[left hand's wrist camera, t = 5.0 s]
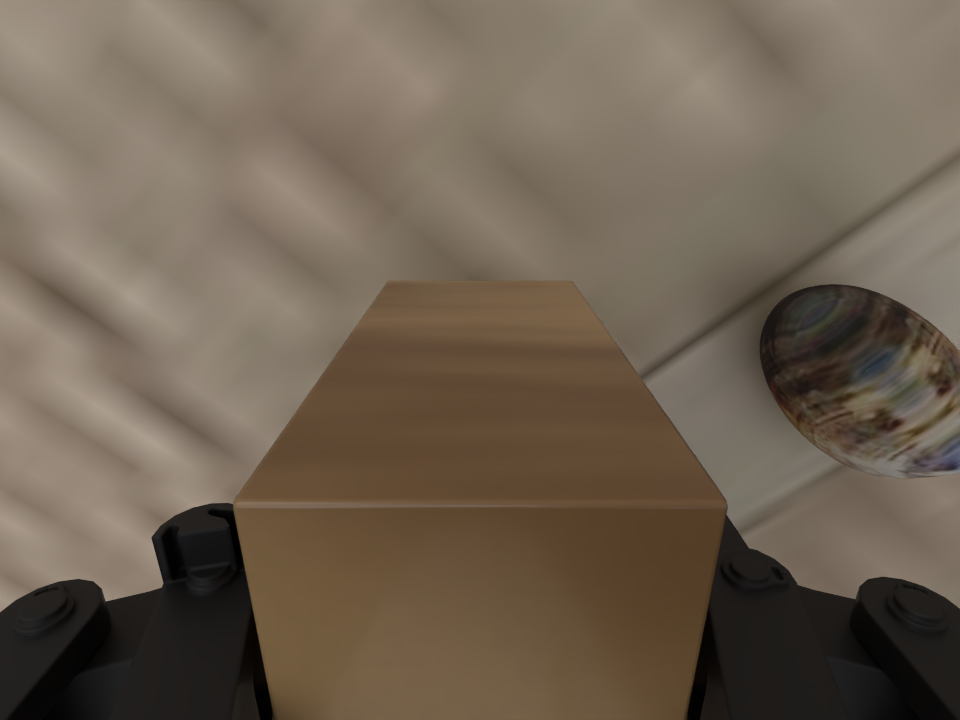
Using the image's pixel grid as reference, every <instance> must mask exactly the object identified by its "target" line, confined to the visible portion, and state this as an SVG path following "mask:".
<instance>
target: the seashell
mask: <svg viewBox="0 0 960 720" xmlns="http://www.w3.org/2000/svg"><path fill="white" fill-rule="evenodd" d="M760 357H761V364H762V369H763V372H764V375H765V379H766V381H767V384H768V386H769V389H770V391H771V393H772V395H773V397H774V399H775V400H776V402H777V403H778V405H779V407H780V408H781V410H782V411H783V413H784V414H785V415H786V417H787V418H788V419H789V420H790V422H791V423H792V424H793V425H794V426H795V427H796V428H797V429H798V431H799V432H800V433H801V434H802V435H803V436H805V437H806V438H807V439H808V440H809V441H810V442H811V443H812V444H814V445H815V446H816V447H817V448H819V449H820V450H821V451H823V452H824V453H826V454H827V455H829V456H830V457H832V458H833V459H835V460H837V461H839V462H840V463H842V464H844V465H846V466H849V467H851V468H853V469H855V470H858V471H861V472H864V473H867V474H870V475H875V476H879V477H885V478H894V479H913V478H922V477H936V476H942V475H947V474H955V473H960V351H959V350H958V349H957V348H956V347H955V346H954V344H953V343H952V342H951V341H950V340H949V339H948V338H947V337H946V336H945V335H944V334H943V333H942V332H940V331H939V330H938V329H937V328H936V327H935V326H934V325H932V324H931V323H930V322H929V321H927V320H926V319H924V318H923V317H922V316H920V315H919V314H918V313H916V312H914V311H913V310H911V309H910V308H908V307H906V306H904V305H903V304H901V303H899V302H897V301H895V300H893V299H891V298H889V297H886V296H884V295H882V294H879V293H877V292H874V291H871V290H868V289H864V288H860V287H855V286H849V285H835V284H830V285H819V286H814V287H808V288H805V289H802V290H799V291H796V292H794V293H792V294H790V295H788V296H787V297H785V298H784V299H782V300H781V301H780V302H779V303H778V304H777V305H776V306H775V307H774V309H773V310H772V312H771V313H770V315H769V316H768V318H767V320H766V322H765V325H764V327H763V330H762V334H761V340H760Z"/></svg>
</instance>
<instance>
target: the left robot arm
mask: <svg viewBox="0 0 960 720" xmlns="http://www.w3.org/2000/svg"><path fill="white" fill-rule="evenodd" d="M152 541H153V545H154V549H155V552H156V556H157V560H158V564H159V568H160V571H161V575H162V579H163V583H164V584H163V586H162V588H160V589H156V590H153V591H150V592H146V593H141V594H137V595H133V596H128V597H124V598H120V599H115V600H111V601H105V598H104V595H103V592H102V589H101V588H100V587H99V586H98V585H97V584H95V583H94V582H93V581H87V580H81V579H75V580H68V581H60V582H56V583H53V584H50V585H47V586H44V587H42V588H39V589H36V590H34V591H32V592H31V593H29V594H27V595H25V596H23V597H21V598H19V599H17V600H16V601H14V602H13V603H12V604H10V605H9V606H8V607H7V608H5V609H4V610H3V611H1V612H0V720H274V715H273V710H272V705H271V699H270V694H269V689H268V684H267V679H266V674H265V669H264V664H263V659H262V653H261V648H260V643H259V638H258V633H257V628H256V623H255V618H254V612H253V607H252V602H251V597H250V592H249V587H248V582H247V577H246V571H245V566H244V561H243V556H242V551H241V546H240V541H239V536H238V530H237V525H236V520H235V515H234V510H233V504H230V503H213V504H207V505H203V506H199V507H194V508H191V509H189V510H187V511H185V512H182V513H180V514H178V515H175V516H174V517H173V518H171V519H170V520H168V521H167V522H165V523H164V524H163V525H161V526H160V527H159V529H158V530H157V531H156V533H155V534H154V535H153V536H152ZM686 720H960V609H959V608H958V607H957V606H955V605H954V604H953V603H951V602H950V601H949V600H948V599H946V598H945V597H943V596H941V595H939V594H937V593H935V592H933V591H931V590H929V589H928V588H926V587H924V586H921V585H918V584H915V583H912V582H909V581H906V580H903V579H896V578H888V577H879V578H873V579H868V580H867V581H865V582H864V583H863V584H862V585H861V586H860V587H859V590H858V594H857V597H856V600H855V599H851V598H847V597H842V596H838V595H833V594H829V593H825V592H820V591H816V590H812V589H809V588H805V587H802V586H799V585H797V583H796V581H795V580H794V578H793V577H792V575H791V574H790V572H789V571H788V570H787V569H786V568H785V567H784V566H782V565H781V564H780V563H779V562H777V561H776V560H775V559H773V558H771V557H769V556H767V555H765V554H763V553H761V552H759V551H757V550H753V549H750V548H748V546H747V545H746V543H745V542H744V540H743V539H742V537H741V536H740V534H739V533H738V531H737V530H736V528H735V527H734V525H733V524H732V522H731V521H730V519H729V518H728V516H727V515H726V518H725V523H724V528H723V533H722V539H721V544H720V549H719V554H718V559H717V564H716V569H715V574H714V579H713V584H712V590H711V595H710V600H709V605H708V610H707V615H706V620H705V625H704V630H703V635H702V641H701V646H700V651H699V656H698V661H697V666H696V671H695V676H694V681H693V687H692V692H691V697H690V702H689V707H688V712H687V717H686Z"/></svg>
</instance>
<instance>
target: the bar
mask: <svg viewBox="0 0 960 720" xmlns="http://www.w3.org/2000/svg"><path fill="white" fill-rule="evenodd" d="M233 510H234V515H235V520H236V525H237V530H238V536H239V541H240V546H241V551H242V556H243V561H244V566H245V571H246V577H247V582H248V587H249V592H250V597H251V602H252V607H253V612H254V618H255V623H256V628H257V633H258V638H259V643H260V648H261V653H262V659H263V664H264V669H265V674H266V679H267V684H268V689H269V694H270V699H271V705H272V710H273V715H274V720H686V717H687V712H688V707H689V702H690V697H691V692H692V687H693V681H694V676H695V671H696V666H697V661H698V656H699V651H700V646H701V641H702V635H703V630H704V625H705V620H706V615H707V610H708V605H709V600H710V595H711V590H712V584H713V579H714V574H715V569H716V564H717V559H718V554H719V549H720V544H721V539H722V533H723V528H724V523H725V518H726V513H727V501H726V499H725V497H724V496H723V495H722V493H721V492H720V490H719V489H718V488H717V486H716V485H715V483H714V482H713V480H712V479H711V478H710V476H709V475H708V473H707V472H706V470H705V469H704V468H703V466H702V465H701V463H700V462H699V460H698V459H697V458H696V456H695V455H694V453H693V452H692V450H691V449H690V448H689V446H688V445H687V443H686V442H685V440H684V439H683V438H682V436H681V435H680V433H679V432H678V430H677V429H676V428H675V426H674V425H673V423H672V422H671V421H670V419H669V418H668V416H667V415H666V413H665V412H664V411H663V409H662V408H661V406H660V405H659V403H658V402H657V401H656V399H655V398H654V396H653V395H652V393H651V392H650V391H649V389H648V388H647V386H646V385H645V383H644V382H643V381H642V379H641V378H640V376H639V375H638V373H637V372H636V371H635V369H634V368H633V366H632V365H631V364H630V362H629V361H628V359H627V358H626V356H625V355H624V354H623V352H622V351H621V349H620V348H619V346H618V345H617V344H616V342H615V341H614V339H613V338H612V336H611V335H610V334H609V332H608V331H607V329H606V328H605V326H604V325H603V324H602V322H601V321H600V319H599V318H598V316H597V315H596V314H595V312H594V311H593V309H592V308H591V307H590V305H589V304H588V302H587V301H586V299H585V298H584V297H583V295H582V294H581V292H580V291H579V289H578V288H577V287H576V285H575V284H574V282H572V281H388V282H387V283H386V285H385V286H384V287H383V289H382V290H381V292H380V293H379V294H378V296H377V297H376V299H375V300H374V302H373V303H372V304H371V306H370V307H369V309H368V310H367V312H366V313H365V314H364V316H363V317H362V319H361V320H360V322H359V323H358V324H357V326H356V327H355V329H354V330H353V331H352V333H351V334H350V336H349V337H348V339H347V340H346V341H345V343H344V344H343V346H342V347H341V349H340V350H339V351H338V353H337V354H336V356H335V357H334V359H333V360H332V361H331V363H330V364H329V366H328V367H327V369H326V370H325V371H324V373H323V374H322V376H321V377H320V378H319V380H318V381H317V383H316V384H315V386H314V387H313V388H312V390H311V391H310V393H309V394H308V396H307V397H306V398H305V400H304V401H303V403H302V404H301V406H300V407H299V408H298V410H297V411H296V413H295V414H294V415H293V417H292V418H291V420H290V421H289V423H288V424H287V425H286V427H285V428H284V430H283V431H282V433H281V434H280V435H279V437H278V438H277V440H276V441H275V443H274V444H273V445H272V447H271V448H270V450H269V451H268V453H267V454H266V455H265V457H264V458H263V460H262V461H261V462H260V464H259V465H258V467H257V468H256V470H255V471H254V472H253V474H252V475H251V477H250V478H249V480H248V481H247V482H246V484H245V485H244V487H243V488H242V490H241V491H240V492H239V494H238V495H237V497H236V498H235V500H234V503H233Z"/></svg>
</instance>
